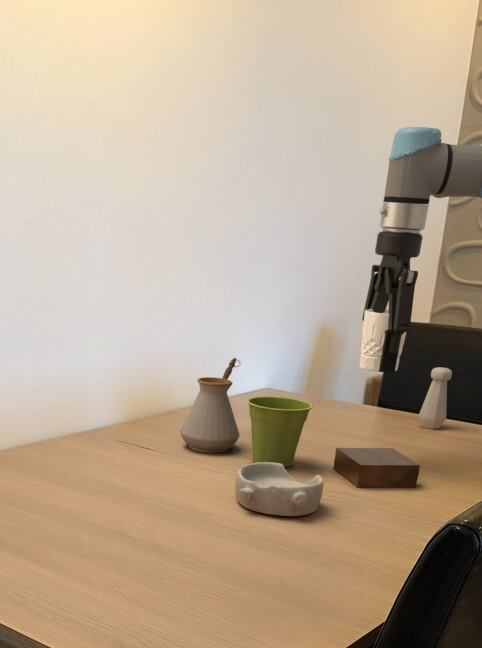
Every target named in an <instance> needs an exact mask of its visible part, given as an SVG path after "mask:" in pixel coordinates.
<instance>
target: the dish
mask: <svg viewBox="0 0 482 648" xmlns="http://www.w3.org/2000/svg"><path fill="white" fill-rule="evenodd" d="M323 490H324V479H323V477H322V476H321V475H319V474H317V475H315V476H314V477H313V478H312V479H311V480H310V481H309V482H306V483H302V482H299V481H296V480H294V479H293V477H291V474H289V473H288V471H287V469H286V467H285V468H284V466H283V464H280V463H271V462H259V463H254V462H252V463H248V464H247V463H246V464H244V465H242V466H241V467H240V468H239V469H238V470H237V472H236V477H235V483H234V494H235V499H236V500H237V502H238V503H239V504H240V505H241V506H243V507H244V508H246V509H248V510H251V511H253V512H256V513H260V514H261V513H262V514H266V515H273V516H282V517H301V516H306V515H309V514H312V513H313V512H316V510H317V509H318V508H319V505H320V503H321V500H322V497H323V492H324V491H323Z"/></svg>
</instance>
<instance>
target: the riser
mask: <svg viewBox="0 0 482 648" xmlns="http://www.w3.org/2000/svg"><path fill="white" fill-rule="evenodd" d="M333 460H334V461H333V468H332V469H333V470H334V471H335V472H336V473H337V474H339V475H340V476H341V477H342V478H343V479H345V480H347V481H348V482H349V483H351V484H352V485H353V486H354V487H356V488H358V489H359V488H360V489H361V488H362V489H363V488H368V489H369V488H370V489H371V488H373V489H374V488H417V484H418V479H419V474H420V469H421V464H419V463H417V462H416V461H414V460H413V459H411V458H409V457H408V456H406V455H404V454H403V453H401V452H399V451H398V450H397V449H395V448H392V447H336V448H335V453H334V459H333Z"/></svg>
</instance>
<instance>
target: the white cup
mask: <svg viewBox="0 0 482 648" xmlns="http://www.w3.org/2000/svg"><path fill="white" fill-rule="evenodd" d="M388 326H389V309H386V310H385V312H384V313H375V312H374V311H373V309H367V310H365V314H364V321H363V323H362V332H361V344H360V353H361V354H360V358H359V365H358V366H359V368H360V369H362V370H364V371H369V372H377V373H380V372H379V368H380V362H381V356H382V350H383V344H384V339H385V332H384V331H386V330H388ZM406 337H407V332H405V333H404V334H403V335H401V341H400V346H399V352H398V357H397V363H396V368H395V372H397V371H398V368H399V364H400V357H401V355H402V353H403V347H404V344H405V340H406Z"/></svg>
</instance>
